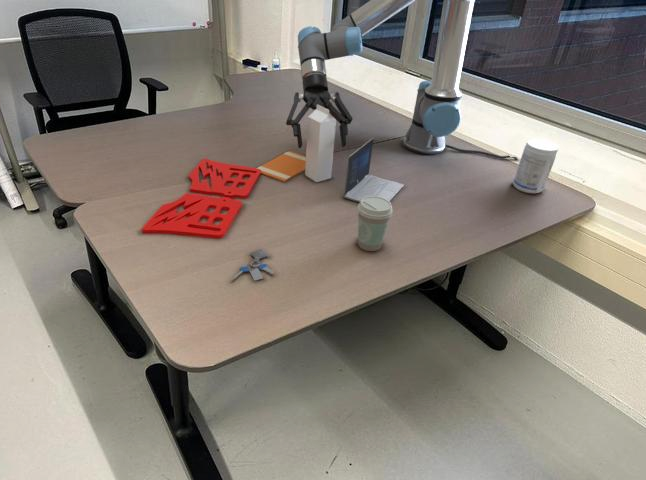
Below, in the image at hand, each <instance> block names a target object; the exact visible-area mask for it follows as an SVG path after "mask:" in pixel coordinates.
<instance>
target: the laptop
mask: <svg viewBox="0 0 646 480" xmlns="http://www.w3.org/2000/svg"><path fill="white" fill-rule="evenodd" d="M374 141H375V139H374V137H372V138H370V139H369V140H368V141H366V142H365V143H364V144H363V145H361V146H360V147H359V148H358V149H357V150H355V151H354V152H353V153H351V154H350V155H349V156H348V157H347V158H348V159H347V168H346V175H345V177H346V178H345V185H344V193H343V195H344V199H347V200H350V201H353V202H357V203H360V202H361V200H362V199H363V198H365V197H368V196H378V197H382V198H385V199H387V200H388V201H391V200H392V199H393V198H394V197H395V196H396V195H397V194H398V192H400V190H402V188H403V187H404V186H405V184H404V183H402V182H401V183H400V182H397V181H393V180H390V179H386V178H382V177H380V176H375V175H371V174H370V168H371V167H370V166H371V161H372V153H373V147H374Z"/></svg>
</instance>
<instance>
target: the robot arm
mask: <svg viewBox="0 0 646 480" xmlns="http://www.w3.org/2000/svg"><path fill="white" fill-rule="evenodd" d="M416 1H417V0H369V1H368V2H366V3H364V4H363V5H362V6H360V7H359V8H357V9H356V10H355V11H353V12H351V13H350V14H348V16H345V17H344V18H343V19H339V20H337V21H336V22H335V23H334V24H333V26H332V28H331V30H330V31H328V32H322V31H321V29H320V28H318V27H316V26H310V25H309V26H306V27H304V28H302V29H300V30H299V32H298V34H297V49H298V57H299V64H300V71H301V79H302V90H303V93H302V94H301V93H299V92H297V91H296V92H295V93H294V96H293V104H292V105H291V109H290V110H289V113H288V115H287V119H286V122H285V124H286V126H291V128H292V134H293V137H294V138H296V139H297V148H298V149H301V148H302V147H303V138H302V128H301V123H300V122H301V120H302V119H303V117H304V116H305V115H306V114H307V112H309V110H310V109H311V110H312V111H315V110H316V108H317V104H318V105H320V106H322V107H324V108H326V109H328V110H329V115H330V116H331V117H333V118H335V119H336V122H338V123H339V127H338V128H339V136H340V143H341V148H345V147H346V145H347V135H348V133H349V128H348V125H350V124H352V121H353V117H352V114H350V112H349V110H348V109H347V107H346V105H345V103H344V102H343V101H342V99H341V96H340V93H339V92H338V91H336V92H335V93H332V94H331V93H330V92H329V86H328V85H329V84H328V78H327V69H326V61H328V60H329V61H330V60H333V59H339V58H345V57H349V56H351V57H352V56H354V55H358V54H362V52H363V41H362V40H363V39H362V38H363V36H365V35H366V34H368V33H370V31H372V30H374V29H376V28H378V26H380V25H382V24H383V23H384V22H386V21H387V20H389V19H391V18H392V17H394V16H395V15H397V14H398V13H400V12H401V11H403V10H404V9H405V8H407V7H409V6H410V5H411V4H413V3H414V2H416ZM475 2H476V0H443V2H442V3H443V4H442V10H441V16H440V23H439V29H438V36H437V43H436V49H435V55H434V62H433V69H432V74H431V80H422V81H421V82H420V83H419V84H418V88H417V94H416V99H415V104H414V108H413V109H414V110H413V114H412V121H411V124H410V126H409V128H408V129H407V132H406V133H405V135H404V137H403V141H402V145H403V147H404V148H405V149H407V150H408V151H411V152H413V153H417V154H422V155H438V154H441V153H443V152H444V151H445V148H447V149H450V150H454V151H457V152H462V153H473V154H481V155H486V156H488V157H493V158H496V159H509V158H511V159H514V160H515V161H519V158H518V157H517V156H516V157H510V156H509V154H508V155H499V154H494V153H490V152H487V151H483V150H474V149H462V148H458V147H455V146H452V145H450V144H446V137H447V136H449V135H451V134H452V133H454V132H455V131H456V130H457V129H458V127H459V126H460V124H461V120H462V113H461V110H460V108H461V102H462V96H463V91H462V90H461V88H460V87H459V86H460V81H461V77H462V71H463V65H464V59H465V54H466V49H467V43H468V39H469V33H470V28H471V22H472V17H473V11H474V6H475ZM330 100H331V101H332V102H333V103H334V105H335V106H334V105H333V103H332V102H331V101H330ZM301 101H303V102H304V103H305V104H304V105H303V107H302V108H301V109H300V111H299V113H298V114H297V116H296V117H295V118H294V116H295V113H296V110H297V107H298V104H299V103H301ZM293 118H294V119H293Z"/></svg>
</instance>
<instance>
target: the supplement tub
mask: <svg viewBox="0 0 646 480" xmlns="http://www.w3.org/2000/svg"><path fill="white" fill-rule="evenodd" d="M558 151H559V145H558V144H556V143H555V142H553V141H550V140H547V139H543V138H531V139H528V140H527V141H526V144H525V145H524V148H523V151H522V154H521V158H520V160H519V163H518V166H517V169H516V171H515V172H516V173H515V175H514V178H513V181H512V185H513V187H514V188H516V189H517V190H518V191H520V192H523V193H525V194H526V193H527V194H540V193H541V192H543V191H544V189H545V186H546V184H547V181H548V180H549V179H548V178H549V175H550V173H551V171H552V168H553V166H554V163H555V160H556V159H557V155H558Z"/></svg>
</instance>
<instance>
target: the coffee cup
mask: <svg viewBox="0 0 646 480" xmlns="http://www.w3.org/2000/svg"><path fill="white" fill-rule="evenodd" d="M390 201H391V200H390ZM390 201H388V200H387V199H385V198H382V197H378V196H368V197H365V198H363V199H362V200H361V202H358V205H357V209H356V210H357V212H358V213H357V214H358V215H357V218H358V223H357V225H358V226H357V227H358V229H357V244H358V247H359V248H360V249H361V250H364V251H367V252H375V251H378V250H380V249H381V248H382V244H383V241H384V239H385V235H386V232H387V228H388V225H389V222H390V219H391V216H392V215H393V212H394V211H393V205H392V203H391V202H390Z"/></svg>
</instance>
